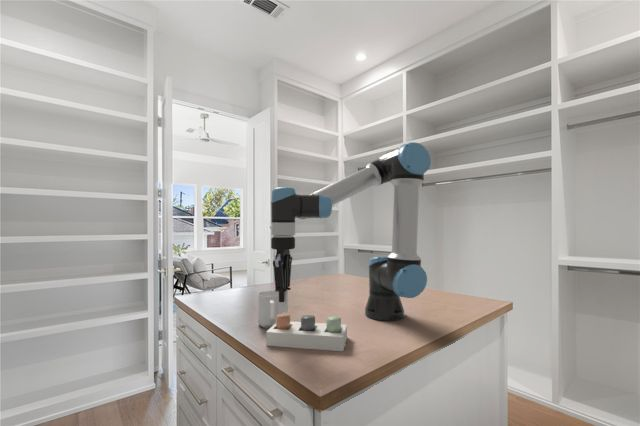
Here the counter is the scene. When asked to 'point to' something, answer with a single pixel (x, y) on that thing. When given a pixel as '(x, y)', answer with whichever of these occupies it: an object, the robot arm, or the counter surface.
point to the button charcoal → (308, 323)
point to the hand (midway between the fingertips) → (282, 311)
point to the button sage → (333, 324)
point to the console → (307, 337)
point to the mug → (267, 308)
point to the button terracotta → (283, 321)
